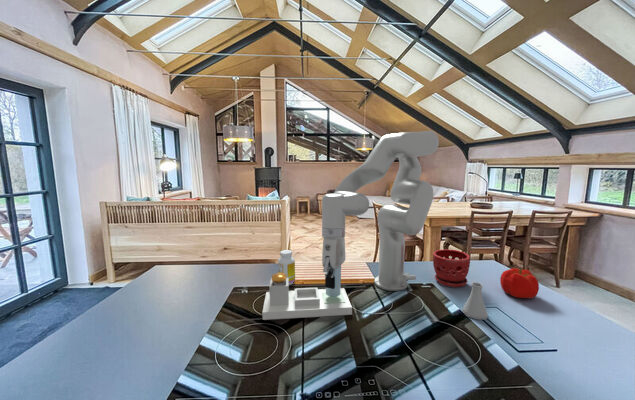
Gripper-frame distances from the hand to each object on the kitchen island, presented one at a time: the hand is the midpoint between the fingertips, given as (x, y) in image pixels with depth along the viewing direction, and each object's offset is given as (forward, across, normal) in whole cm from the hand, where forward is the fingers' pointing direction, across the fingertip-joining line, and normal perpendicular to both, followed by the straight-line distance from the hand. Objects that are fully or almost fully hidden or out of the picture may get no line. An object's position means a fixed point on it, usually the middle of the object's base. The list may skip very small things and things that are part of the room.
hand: (333, 283), depth 90 cm
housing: (+8, -4, +8) cm, 12 cm away
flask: (+8, +13, -43) cm, 46 cm away
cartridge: (+3, 0, 0) cm, 3 cm away
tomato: (+8, +34, -59) cm, 68 cm away
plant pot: (+8, +35, -36) cm, 51 cm away
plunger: (+5, -9, +16) cm, 18 cm away
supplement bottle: (+8, +8, +23) cm, 26 cm away
